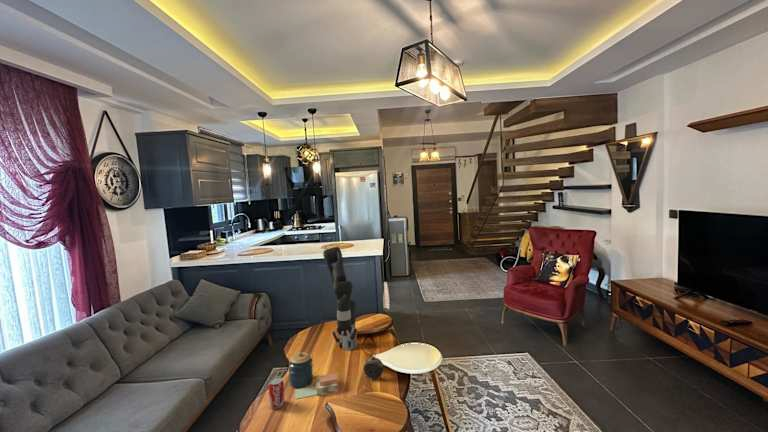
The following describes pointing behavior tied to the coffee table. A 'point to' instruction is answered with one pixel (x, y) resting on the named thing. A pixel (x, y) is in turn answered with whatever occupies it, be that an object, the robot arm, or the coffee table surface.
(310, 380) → the canister
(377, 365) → the alarm clock
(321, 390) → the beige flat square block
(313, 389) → the mat
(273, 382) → the soda can
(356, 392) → the coffee table surface
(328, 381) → the pink block
